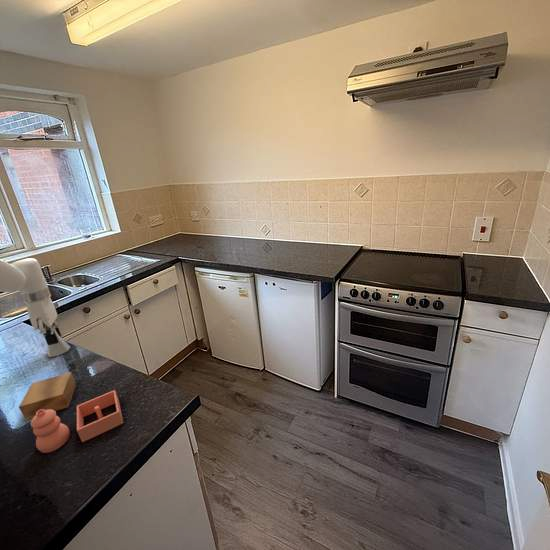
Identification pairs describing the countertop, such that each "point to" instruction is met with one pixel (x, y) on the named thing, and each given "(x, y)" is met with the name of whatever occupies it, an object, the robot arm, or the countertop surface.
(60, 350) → the flask
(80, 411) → the pottery
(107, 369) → the countertop surface
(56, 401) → the oak block
